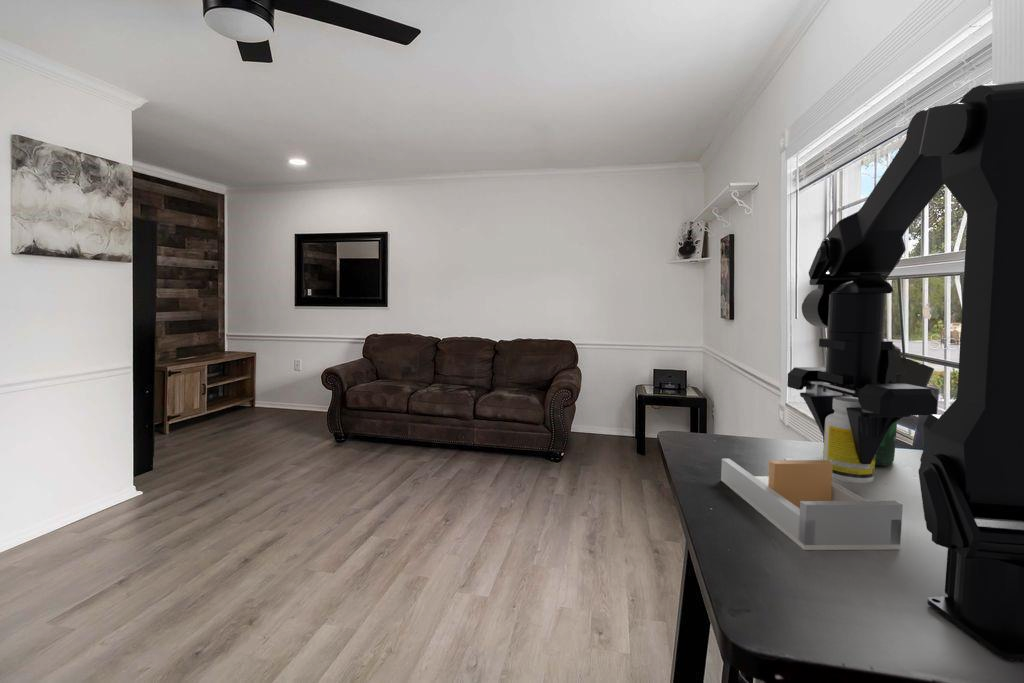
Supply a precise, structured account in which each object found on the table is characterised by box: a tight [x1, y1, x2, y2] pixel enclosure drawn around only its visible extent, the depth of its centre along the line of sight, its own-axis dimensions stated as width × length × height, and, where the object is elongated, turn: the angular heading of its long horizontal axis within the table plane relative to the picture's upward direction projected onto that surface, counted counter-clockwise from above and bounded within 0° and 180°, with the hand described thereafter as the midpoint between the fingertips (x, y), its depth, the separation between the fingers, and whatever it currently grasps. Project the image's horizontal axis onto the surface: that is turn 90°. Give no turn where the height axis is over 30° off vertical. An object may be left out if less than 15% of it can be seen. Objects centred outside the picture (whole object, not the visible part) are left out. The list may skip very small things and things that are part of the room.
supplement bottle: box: [822, 397, 876, 484], centre depth 62 cm, size 5×5×10 cm
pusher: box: [768, 459, 833, 506], centre depth 57 cm, size 1×7×5 cm, turn 90°
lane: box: [720, 457, 904, 551], centre depth 58 cm, size 19×9×4 cm, turn 0°
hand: (848, 456), depth 62 cm, fingers closed on supplement bottle, 5 cm apart
